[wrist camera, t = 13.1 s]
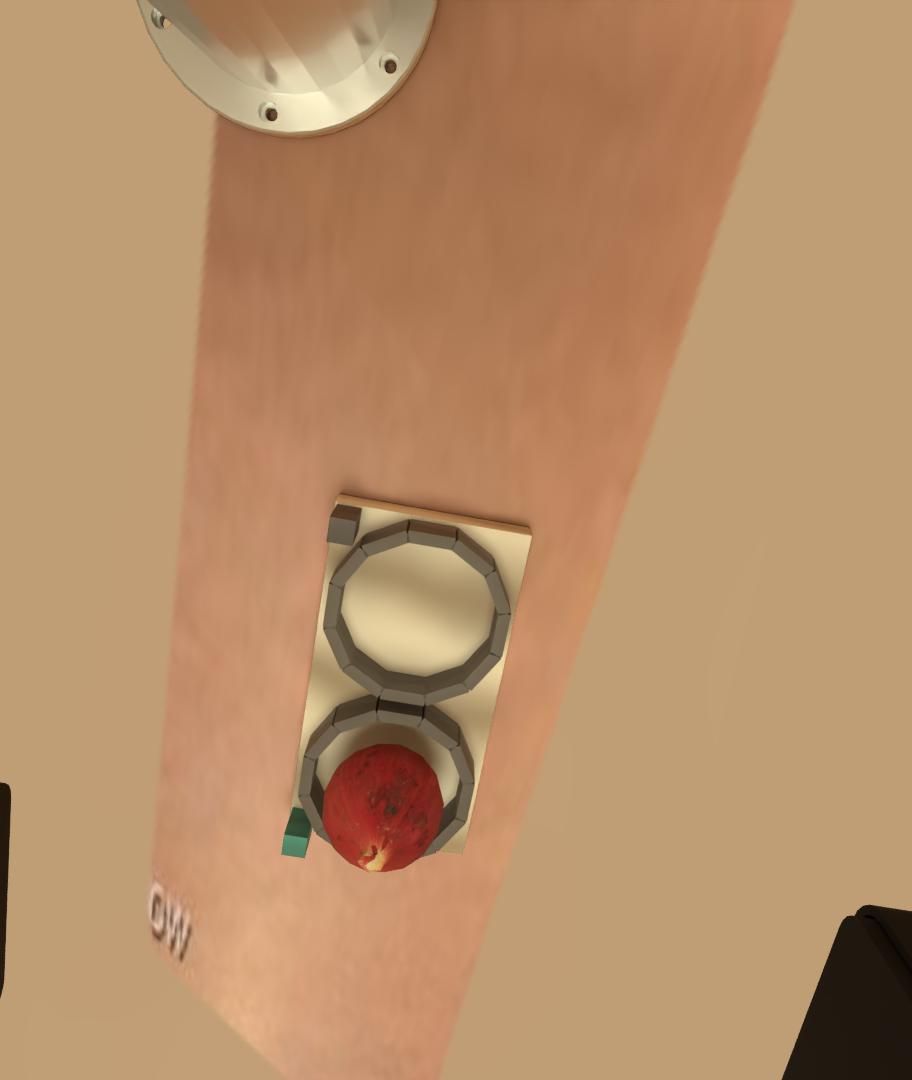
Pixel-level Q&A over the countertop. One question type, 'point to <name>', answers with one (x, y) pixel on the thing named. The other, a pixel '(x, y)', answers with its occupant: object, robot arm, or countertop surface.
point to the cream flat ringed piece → (407, 652)
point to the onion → (382, 807)
